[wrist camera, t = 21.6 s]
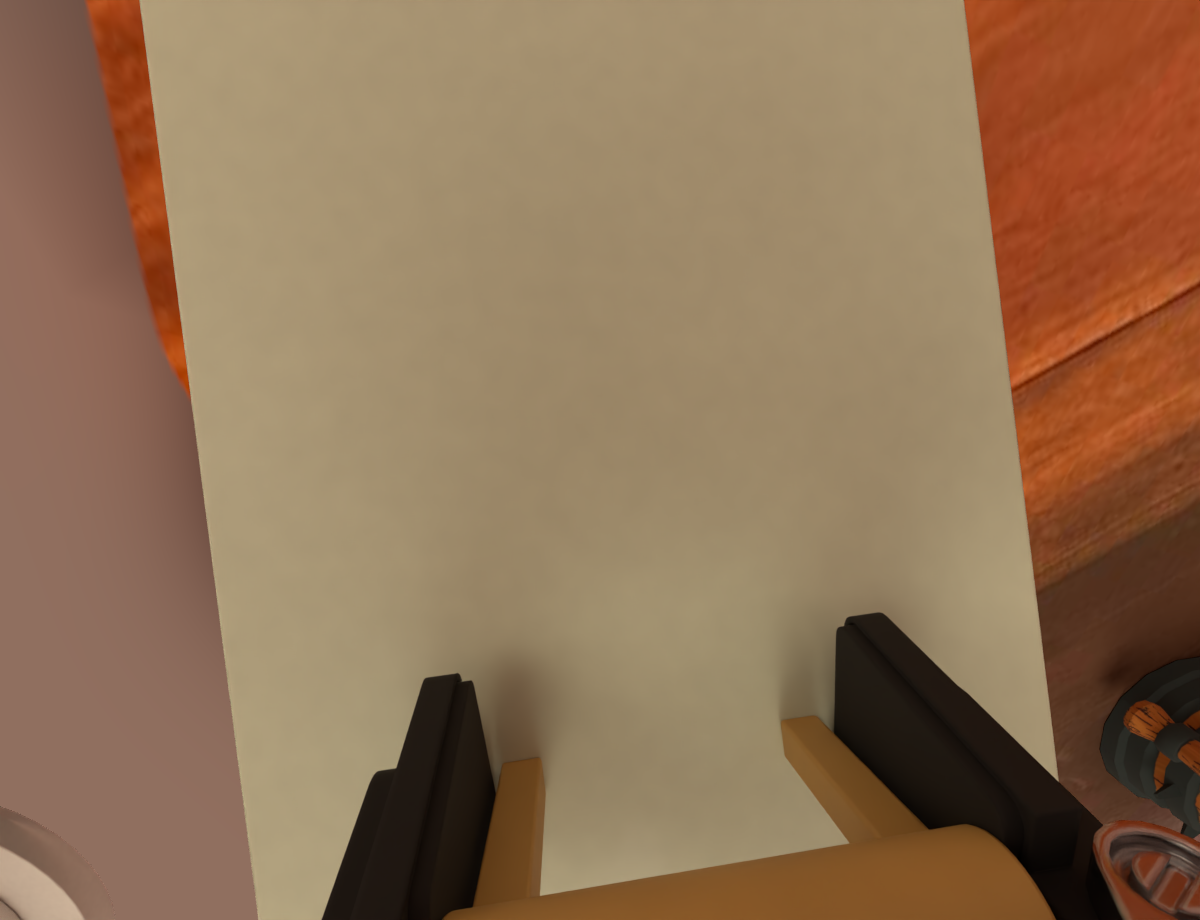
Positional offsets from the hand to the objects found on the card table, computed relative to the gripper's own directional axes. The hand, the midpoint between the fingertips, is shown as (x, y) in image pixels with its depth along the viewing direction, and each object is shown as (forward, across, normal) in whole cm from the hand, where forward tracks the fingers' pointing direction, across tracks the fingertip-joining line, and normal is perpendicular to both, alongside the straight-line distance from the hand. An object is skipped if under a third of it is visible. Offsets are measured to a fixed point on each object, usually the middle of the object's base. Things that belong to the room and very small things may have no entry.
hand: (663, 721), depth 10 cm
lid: (+3, 0, -5) cm, 6 cm away
